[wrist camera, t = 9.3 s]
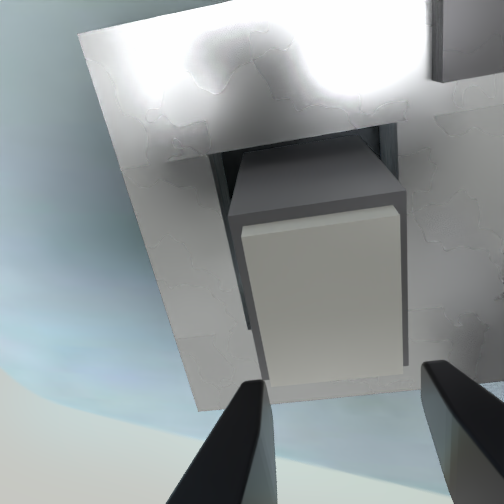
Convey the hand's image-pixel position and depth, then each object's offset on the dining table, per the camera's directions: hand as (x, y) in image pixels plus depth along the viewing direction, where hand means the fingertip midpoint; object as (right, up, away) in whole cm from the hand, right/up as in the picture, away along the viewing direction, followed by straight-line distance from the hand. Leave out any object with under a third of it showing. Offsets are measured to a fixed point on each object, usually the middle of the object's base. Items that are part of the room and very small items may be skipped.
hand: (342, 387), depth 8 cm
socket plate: (+1, +4, +8) cm, 9 cm away
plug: (0, +4, +8) cm, 9 cm away
